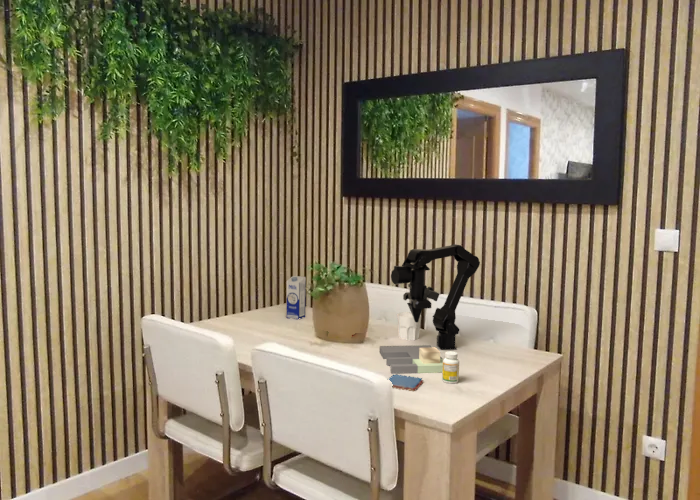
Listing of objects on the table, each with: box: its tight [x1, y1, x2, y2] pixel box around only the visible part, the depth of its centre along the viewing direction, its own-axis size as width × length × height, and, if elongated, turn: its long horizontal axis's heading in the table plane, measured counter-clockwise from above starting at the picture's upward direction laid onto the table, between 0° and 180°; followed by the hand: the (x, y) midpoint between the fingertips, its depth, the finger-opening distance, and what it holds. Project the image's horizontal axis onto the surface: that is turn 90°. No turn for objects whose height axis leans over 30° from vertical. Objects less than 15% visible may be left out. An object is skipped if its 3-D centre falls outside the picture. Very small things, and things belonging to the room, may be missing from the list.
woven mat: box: [388, 374, 424, 392], centre depth 187 cm, size 10×11×2 cm
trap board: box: [379, 344, 444, 375], centre depth 212 cm, size 20×26×2 cm
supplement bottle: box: [441, 350, 460, 385], centre depth 191 cm, size 5×5×10 cm
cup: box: [396, 311, 422, 341], centre depth 246 cm, size 10×10×10 cm
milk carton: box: [286, 275, 307, 320], centre depth 280 cm, size 7×7×20 cm
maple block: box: [419, 346, 441, 364], centre depth 205 cm, size 6×6×4 cm
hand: (416, 322), depth 224 cm, fingers closed
